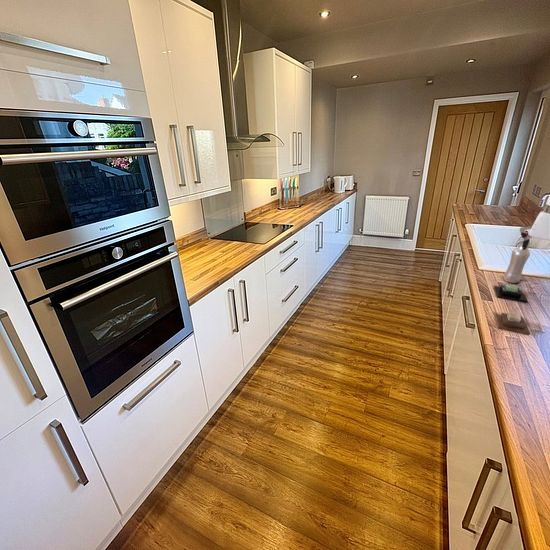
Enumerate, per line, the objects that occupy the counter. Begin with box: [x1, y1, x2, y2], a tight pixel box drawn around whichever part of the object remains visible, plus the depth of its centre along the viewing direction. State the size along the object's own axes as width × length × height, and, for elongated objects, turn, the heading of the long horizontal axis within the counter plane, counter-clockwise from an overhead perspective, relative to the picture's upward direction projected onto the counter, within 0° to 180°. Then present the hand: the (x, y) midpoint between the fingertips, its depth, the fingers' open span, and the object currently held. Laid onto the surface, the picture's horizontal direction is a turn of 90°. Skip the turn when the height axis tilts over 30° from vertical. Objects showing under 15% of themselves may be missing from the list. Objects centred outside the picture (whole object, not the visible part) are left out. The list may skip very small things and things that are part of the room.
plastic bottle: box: [502, 240, 531, 284], centre depth 136 cm, size 6×7×20 cm
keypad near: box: [494, 312, 531, 336], centre depth 108 cm, size 9×9×3 cm
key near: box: [506, 312, 521, 323], centre depth 107 cm, size 3×3×2 cm
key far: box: [505, 283, 519, 292], centre depth 127 cm, size 4×4×2 cm
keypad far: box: [493, 284, 527, 304], centre depth 128 cm, size 10×10×3 cm
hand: (539, 252), depth 117 cm, fingers open, 9 cm apart
